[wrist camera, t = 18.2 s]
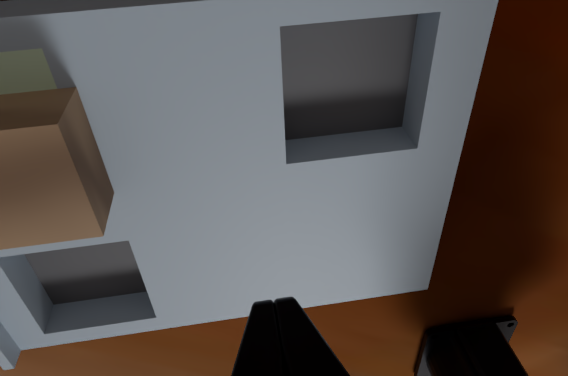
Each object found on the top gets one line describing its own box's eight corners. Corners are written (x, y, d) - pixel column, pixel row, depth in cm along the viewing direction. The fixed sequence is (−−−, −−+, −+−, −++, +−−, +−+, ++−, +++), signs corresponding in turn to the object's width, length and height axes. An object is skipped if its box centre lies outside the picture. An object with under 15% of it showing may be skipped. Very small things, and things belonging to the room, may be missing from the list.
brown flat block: (114, 192, 18) (103, 236, 16) (-5, 207, 17) (-32, 254, 15) (76, 87, 15) (57, 124, 13) (-68, 101, 14) (-110, 142, 12)
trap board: (414, 262, 26) (435, 304, 24) (22, 318, 24) (3, 370, 22) (475, -38, 16) (521, -18, 14) (-181, 15, 14) (-256, 50, 12)
